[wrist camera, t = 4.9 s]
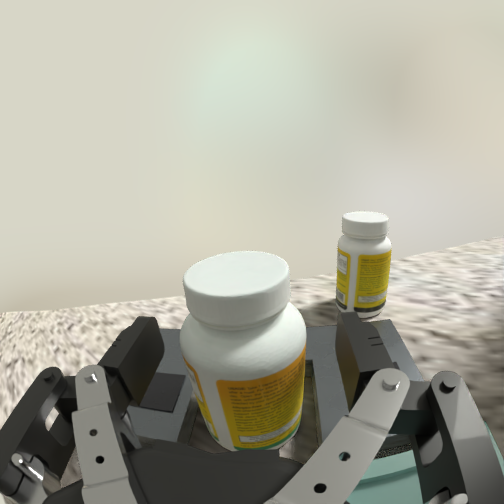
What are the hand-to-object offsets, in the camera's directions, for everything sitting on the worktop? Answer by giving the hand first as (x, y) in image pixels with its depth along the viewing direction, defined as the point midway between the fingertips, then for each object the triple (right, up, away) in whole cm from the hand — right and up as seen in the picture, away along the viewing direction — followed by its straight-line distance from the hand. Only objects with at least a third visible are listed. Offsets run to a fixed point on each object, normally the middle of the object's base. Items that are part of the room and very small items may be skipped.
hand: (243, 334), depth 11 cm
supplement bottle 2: (+10, -2, +13) cm, 16 cm away
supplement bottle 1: (+1, -6, +2) cm, 7 cm away
